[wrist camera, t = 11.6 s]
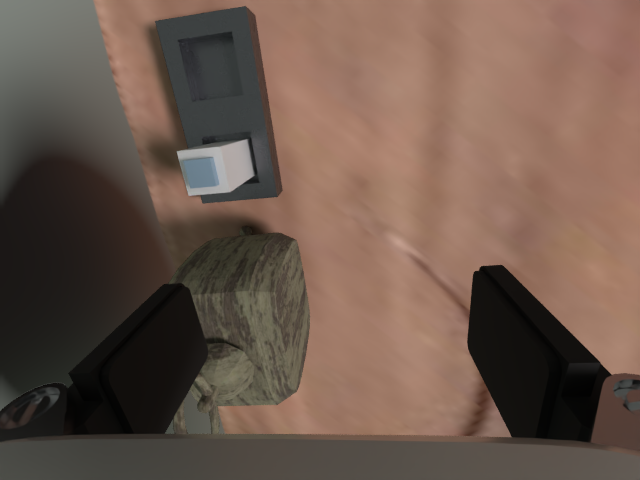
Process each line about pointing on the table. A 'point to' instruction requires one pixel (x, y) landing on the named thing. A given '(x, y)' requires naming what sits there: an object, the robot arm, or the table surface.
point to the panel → (223, 90)
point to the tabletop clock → (247, 321)
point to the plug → (217, 166)
